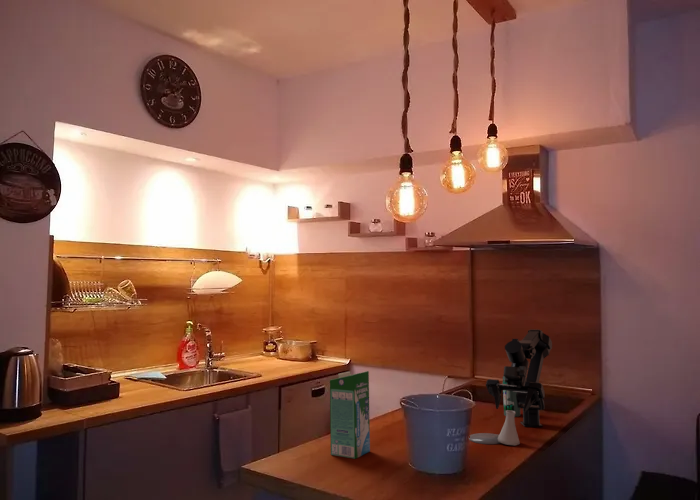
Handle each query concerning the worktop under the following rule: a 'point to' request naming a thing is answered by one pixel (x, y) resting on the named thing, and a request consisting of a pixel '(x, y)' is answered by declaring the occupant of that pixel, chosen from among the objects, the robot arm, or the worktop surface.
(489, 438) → the slate coaster
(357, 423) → the milk carton
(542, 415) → the worktop surface
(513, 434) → the flask
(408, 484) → the worktop surface
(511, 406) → the can
